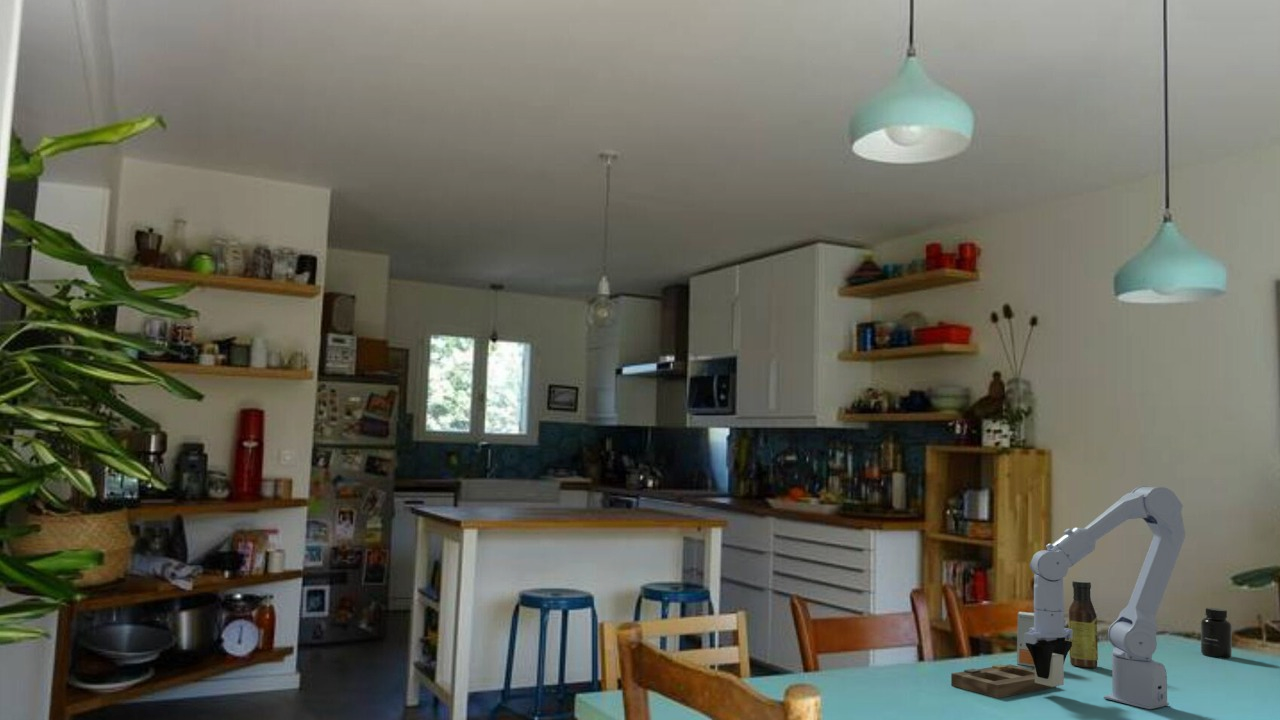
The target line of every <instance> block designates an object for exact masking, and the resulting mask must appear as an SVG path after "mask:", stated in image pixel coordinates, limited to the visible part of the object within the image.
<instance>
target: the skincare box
mask: <svg viewBox="0 0 1280 720" xmlns="http://www.w3.org/2000/svg"><path fill="white" fill-rule="evenodd" d="M1033 627H1034V612H1025V611H1018V613H1017V633H1016V636H1017V639H1016V640H1017V641H1016V665H1018V666H1019V665H1020V666H1027V667H1034V668H1035V665H1034V662H1033V658H1032V656H1031V654H1030V651H1029V650H1028V648H1027V646H1026V643H1025V642H1024V633H1027V632H1029V628H1033Z"/></svg>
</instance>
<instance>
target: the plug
mask: <svg viewBox="0 0 1280 720" xmlns="http://www.w3.org/2000/svg"><path fill="white" fill-rule="evenodd" d="M1064 664H1065V662H1064V658H1063V655H1061V654H1056V653H1053V654H1052V657H1051V662H1050V673H1049V677H1048V679H1045V678H1041V677H1038V676H1037V673H1036V669H1035V668H1034V670H1035V683H1038V684H1043V685H1047V686H1051V687H1053V688H1056V687H1059V686H1064V685H1065V684H1064V683H1065V680H1064V678H1065V675H1064V674H1065V672H1064V666H1065V665H1064ZM1055 686H1056V687H1055Z"/></svg>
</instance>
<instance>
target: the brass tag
mask: <svg viewBox="0 0 1280 720" xmlns="http://www.w3.org/2000/svg"><path fill="white" fill-rule="evenodd" d="M1006 665H1007V664H1002V663H1001V664H1000V663H999V664H996V665H995V664H994V665H992V666H991V667H992V668H996V669H1005V668H1008V666H1006Z"/></svg>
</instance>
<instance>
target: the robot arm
mask: <svg viewBox="0 0 1280 720" xmlns="http://www.w3.org/2000/svg"><path fill="white" fill-rule="evenodd" d="M1183 507H1184V505H1183V503H1182V502H1181V500H1180V499H1179V498H1178V496H1177V495H1176V493H1175V492H1174V491H1173V490H1171V489H1170V488H1167V487H1165V486H1164V487H1163V486H1159V487H1158V486H1157V487H1155V486H1147V485H1140V486H1137V487H1136V488H1134V489H1133V490H1132V491H1131V492H1128V493H1125V494H1124V495H1123V496H1122V497H1120V499H1118V500H1117V501H1116V502H1114V503H1113V504H1112V505H1111V506H1109V507H1108V508H1107V509H1106V510H1104V512H1102V513H1101V514H1100V515H1098V516H1097V517H1096V518H1095V519H1094V520H1093V521H1091V522H1090V523H1089V524H1087V525H1086V526H1085V527H1084V528H1083V527H1078V526H1077V527H1073V528H1067V529H1065V530H1064V531H1063V534H1064V535H1062V536H1061V537H1059V538H1058V539H1057V540H1055V541H1054V542H1053V543H1048V544H1046V545H1045V547H1046V549H1044V550H1042V549H1041V550H1039V551H1037V552H1036V553H1035V552H1034V555H1033V556H1032V558H1031V561H1030V562H1029V568H1030V571H1031V572H1032V573H1033V574H1034V575H1033V582H1034V583H1033V613H1034V627H1033V628H1029V632H1027V633H1024V642H1025V643H1026V646H1027V648H1028V650H1029V651H1030V654H1031V656H1032V658H1033V662H1034V665H1035V667H1034V670H1035V669H1036V673H1037V676H1038V677H1041V678H1045V679H1048V677H1049V673H1050V662H1051V657H1052V654H1053V653H1056V654H1061V655H1063V658H1064V663H1065V662H1066V658H1067V656H1068V655H1069V654H1068V653H1069V650H1070V648H1071V647H1072V642H1071V641H1069V639H1072V638H1073V629H1069V627H1065V621H1064V620H1065V616H1064V615H1065V612H1064V609H1065V605H1064V604H1065V603H1064V602H1065V600H1064V598H1065V597H1064V595H1065V593H1064V592H1065V591H1064V578H1065V577H1066V576H1067V574H1068V571H1069V568H1072V567H1073V566H1074V565H1076V564H1077V563H1078V562H1080V561H1081V560H1083V559H1084V558H1085V557H1087V556H1088V555H1089V554H1091V553H1092V552H1093V551H1095V550H1096V544H1097V541H1098V540H1100V539H1101V538H1102V537H1104V536H1105V535H1106V534H1108V533H1110V532H1111V531H1113V530H1114V529H1116V528H1118V527H1119V526H1121V525H1122V524H1123V523H1125V522H1126V521H1128V520H1134V519H1135V520H1136V519H1142V520H1144V522H1145V523H1146V524H1147V526H1148V527H1149V529H1150V531H1151V532H1152V534H1153V537H1152V540H1151V543H1150V545H1149V549H1148V550H1147V553H1146V556H1145V559H1144V561H1143V563H1142V566H1141V568H1140V569H1141V570H1140V571H1139V575H1138V577H1137V580H1136V583H1135V586H1134V587H1133V590H1132V593H1131V596H1130V599H1129V600H1128V604H1127V605H1126V607H1124V608H1123V609H1122V610H1121V611H1120V612H1119V614H1118V617H1117V619H1116V620H1115V621H1114V622H1112V623H1111V625H1110V626H1109V627H1108V631H1107V638H1108V641H1109V642H1110V644H1111V645H1112V646H1113V649H1112V653H1111V656H1112V657H1111V660H1112V664H1111V668H1112V670H1111V671H1112V676H1111V677H1112V678H1111V679H1112V680H1111V681H1112V693H1110V694H1106V695H1103V699H1106V700H1110V701H1114V702H1117V703H1122V704H1127V705H1128V706H1129V705H1130V706H1134V707H1138V708H1143V709H1146V710H1153V709H1158V708H1162V707H1166V706H1169V705H1170V702H1168V676H1167V674H1168V673H1167V669H1166V666H1165V665H1164V664H1163V663H1162V662H1158V661H1155V660H1154V659H1153V654H1155V652H1156V650H1157V643H1158V642H1157V631H1158V629H1159V625H1158V622H1157V613H1158V611H1159V608H1160V605H1161V603H1162V599H1163V598H1164V595H1165V592H1166V589H1167V587H1168V584H1169V581H1170V578H1171V576H1172V574H1173V570H1174V568H1175V566H1176V565H1175V564H1176V562H1177V559H1178V557H1179V554H1180V552H1181V549H1182V547H1183V544H1184V540H1185V538H1186V531H1185V525H1184V520H1183V519H1184V518H1183V515H1182V511H1183ZM1066 639H1068V640H1066Z"/></svg>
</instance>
